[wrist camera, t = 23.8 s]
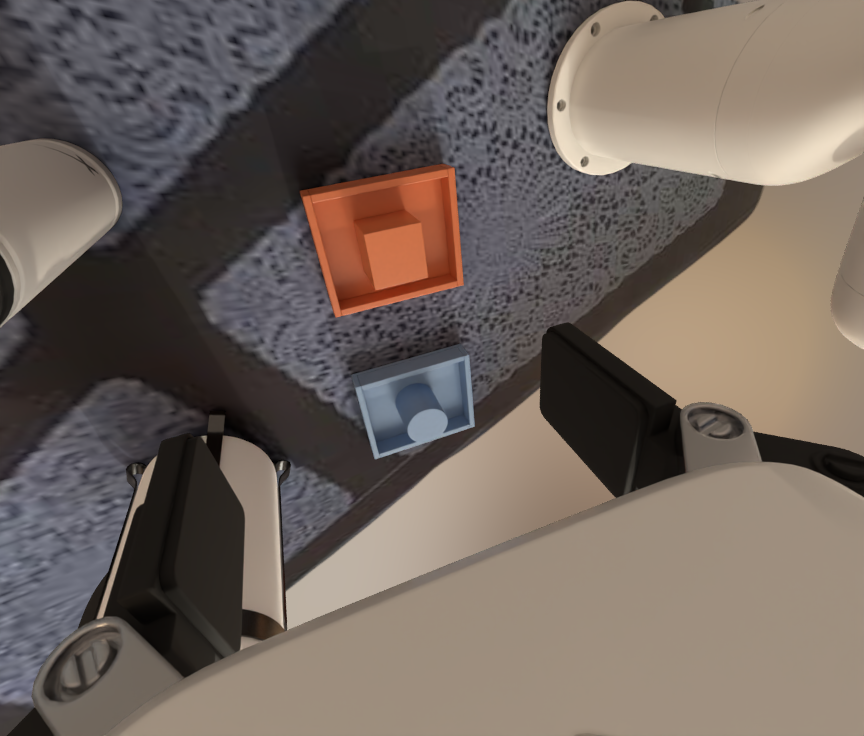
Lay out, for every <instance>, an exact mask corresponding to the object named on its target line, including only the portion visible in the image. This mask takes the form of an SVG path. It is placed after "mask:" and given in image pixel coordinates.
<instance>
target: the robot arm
mask: <svg viewBox="0 0 864 736" xmlns="http://www.w3.org/2000/svg"><path fill="white" fill-rule="evenodd" d="M557 104H558V105H557ZM547 116H548V127H549V131H550V135H551V139H552V142H553V144H554V146H555V148H556V151H557V152H558V154H559V155H560V157H561V158H562V159H563V161H564V162H566V163H567V164H568V165H569V166H570V167H572V168H573V169H575V170H578V171H580V172H582V173H587V174H591V175H605V174H610V173H614V172H616V171H618V170H620V169H623V168H625V167H626V166H628V165H629V164H631V163H638V164H643V165H649V166H655V167H660V168H666V169H672V170H677V171H683V172H689V173H694V174H700V175H706V176H711V177H717V178H723V179H728V180H734V181H739V182H746V183H752V184H758V185H772V186H775V185H787V184H792V183H798V182H801V181H805V180H808V179H810V178H814V177H816V176H819V175H821V174H824V173H826V172H828V171H830V170H832V169H834V168H837V167H839V166H841V165H842V164H844V163H846V162H848V161H850V160H852V159H854V158H855V157H857V156H859V155H861V154H863V153H864V0H756V1H751V2H746V3H741V4H735V5H730V6H725V7H720V8H715V9H710V10H704V11H699V12H694V13H689V14H684V15H679V16H673V17H668V18H664V16H663V15H662V14H661V12H659V11H658V10H657V9H655V8H654V7H653V6H652V5H649V4H646V3H644V2H641V1H624V2H619V3H615V4H612V5H609V6H607V7H604V8H602V9H600V10H599V11H597V12H596V13H594V14H593V15H591V16H590V17H588V18H587V19H586V20H585V21H584V22H583V23H582V24H581V25H580V26H579V27H578V28H577V29H576V31H575V32H574V34H573V35H572V36H571V38H570V39H569V41H568V42H567V43H566V45H565V47H564V49H563V51H562V53H561V55H560V57H559V59H558V61H557V64H556V67H555V69H554V72H553V75H552V79H551V84H550V88H549V93H548V105H547ZM831 313H832V317H833V320H834V323H835V325H836V326H837V328H838V329H839V331H840V332H841V333H842V334H843V335H844V336H845V337H846V338H847V339H848V340H850V341H851V342H852V343H854V344H855V345H857V346H858V347H860V348H862V349H864V198H863V201H862V204H861V207H860V209H859V212H858V215H857V218H856V221H855V224H854V226H853V229H852V232H851V235H850V238H849V241H848V243H847V246H846V249H845V252H844V255H843V258H842V261H841V263H840V268H839V271H838V274H837V276H836V280H835V284H834V288H833V291H832V296H831ZM675 404H676V400H675V399H674V398H672V397H671V396H670V395H668V394H667V393H666V392H664V391H663V390H661V389H660V388H659V387H657V386H656V385H655V384H653V383H652V382H650V381H649V380H648V379H646V378H645V377H644V376H642V375H641V374H639V373H638V372H637V371H635V370H634V369H633V368H631V367H630V366H628V365H627V364H626V363H624V362H623V361H622V360H620V359H619V358H617V357H616V356H615V355H613V354H612V353H611V352H609V351H608V350H606V349H605V348H604V347H602V346H601V345H600V344H598V343H597V342H595V341H594V340H593V339H591V338H590V337H589V336H587V335H586V334H584V333H583V332H582V331H580V330H579V329H578V328H576V327H575V326H573V325H572V324H570V323H563V324H559V325H556V326H553V327H550V328H548V330H547V332H546V334H544V335H543V337H542V356H541V383H540V410H541V413H542V415H543V416H544V418H545V419H546V420H547V421H548V422H549V423H550V425H551V426H552V427H553V428H554V429H555V430H556V431H557V432H558V434H559V435H560V436H561V437H562V438H563V439H564V440H565V441H566V443H567V444H568V445H569V446H570V447H571V448H572V449H573V450H574V452H575V453H576V454H577V455H578V456H579V457H580V458H581V459H582V461H583V462H584V463H585V464H586V465H587V466H588V467H589V468H590V470H592V472H593V473H594V474H595V475H596V476H597V477H598V479H599V480H600V481H601V482H602V483H603V484H604V485H605V486H606V488H607V489H608V490H609V491H610V492H611V493H612V494H613V495H614V496H615V497H616V498H615V499H612V500H610V501H607V502H605V503H602V504H600V505H597V506H595V507H592V508H590V509H587V510H584V511H582V512H579V513H577V514H574V515H572V516H569V517H567V518H564V519H562V520H559V521H556V522H554V523H552V524H549V525H547V526H544V527H541V528H539V529H536V530H534V531H531V532H529V533H526V534H524V535H521V536H519V537H516V538H514V539H512V540H509V541H506V542H504V543H501V544H499V545H496V546H494V547H491V548H489V549H486V550H484V551H481V552H479V553H476V554H474V555H471V556H469V557H466V558H464V559H461V560H459V561H456V562H454V563H451V564H449V565H446V566H444V567H441V568H439V569H436V570H434V571H431V572H429V573H426V574H424V575H421V576H419V577H417V578H414V579H411V580H409V581H407V582H404V583H401V584H399V585H397V586H394V587H392V588H389V589H387V590H384V591H382V592H379V593H377V594H374V595H372V596H369V597H367V598H365V599H362V600H360V601H357V602H355V603H352V604H350V605H347V606H345V607H342V608H340V609H337V610H335V611H333V612H330V613H328V614H325V615H323V616H320V617H318V618H315V619H313V620H311V621H308V622H306V623H304V624H301V625H299V626H297V627H294V628H292V629H289V630H287V631H285V632H282V633H280V634H278V635H275V636H273V637H271V638H268V639H266V640H263V641H261V642H259V643H256V644H254V645H252V646H249V647H247V648H245V649H242V650H240V648H241V629H242V599H243V569H244V539H245V513H244V509H243V507H242V505H241V503H240V501H239V499H238V498H237V496H236V494H235V493H234V491H233V489H232V487H231V486H230V484H229V482H228V481H227V479H226V477H225V476H224V474H223V472H222V471H221V469H220V467H219V465H218V464H217V462H216V460H215V459H214V457H213V455H212V454H211V452H210V450H209V448H208V447H207V445H206V443H205V442H204V440H203V439H202V437H200V436H197V437H193V436H192V435H191V434H190V433H186V434H183V435H179V436H176V437H173V438H169V439H166V440H163V441H162V442H161V444H160V448H159V451H158V455H157V458H156V462H155V465H154V469H153V473H152V476H151V480H150V483H149V487H148V490H147V494H146V497H145V501H144V504H141V505H139V506H138V507H137V508H136V511H135V513H134V515H133V519H132V522H131V525H130V529H129V532H128V535H127V539H126V542H125V545H124V549H123V552H122V555H121V559H120V562H119V565H118V569H117V572H116V575H115V579H114V582H113V585H112V589H111V592H110V595H109V599H108V602H107V605H106V609H105V612H104V615H103V618H99V619H96V620H93V621H91V622H89V623H87V624H85V625H83V626H82V627H80V628H78V629H77V630H76V631H74V632H73V633H72V634H70V635H69V636H68V637H66V638H65V639H64V640H63V641H62V642H61V643H60V644H59V645H58V646H57V647H56V648H55V649H54V650H53V651H52V652H51V654H50V655H49V656H48V658H47V659H46V661H45V662H44V664H43V665H42V666H41V668H40V670H39V672H38V675H37V677H36V679H35V681H34V684H33V691H32V699H33V703H34V706H35V708H34V709H33V710H32V711H31V712H30V713H29V714H28V715H27V716H26V717H25V718H24V719H23V720H22V721H21V722H20V723H19V724H18V725H17V726H16V727H15V728H14V729H13V730H12V731H11V732H10V733H9V734H8V735H7V736H864V457H863V456H861V455H859V454H856V453H853V452H851V451H849V450H845V449H841V448H837V447H833V446H827V445H822V444H817V443H811V442H806V441H801V440H795V439H790V438H785V437H778V436H774V435H768V434H763V433H758V432H753V430H752V427H751V425H750V423H749V422H748V420H747V419H746V418H745V417H744V416H742V414H740V413H738V412H737V411H735V410H733V409H731V408H728V407H726V406H723V405H720V404H715V403H709V402H698V403H692V404H690V405H687V406H685V407H684V408H683V409H680V408H679V407H678V406H676V405H675Z"/></svg>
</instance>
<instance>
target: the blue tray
mask: <svg viewBox="0 0 864 736" xmlns="http://www.w3.org/2000/svg"><path fill="white" fill-rule="evenodd" d="M351 377H352V381H353V385H354V388H355V392H356V395H357V399H358V403H359V406H360V410H361V413H362V417H363V421H364V424H365V428H366V431H367V435H368V439H369V442H370V446H371V449H372V452H373V455H374V458H375V459H377V458H381V457H384V456H387V455H390V454H393V453H396V452H399V451H402V450H405V449H408V448H411V447H414V446H417V445H420V444H423V443H426V442H423V443H422V442H416V441H414V440H412V439H411V438H410V437H409V435H408V433H407V431H406V428H405V426H404V424H403V422H402V419H401V417H400V415H399V412H398V410H397V408H396V398H397V396H398V394H399V392H400V391H401V390H402V389H404V388H405V387H406V386H408V385H411V384H415V383H421V384H425V385H427V386H428V387H430V388H431V390H432V392H433V393H434V395H435V397H436V398H437V400H438V402H439V404H440V405H441V407H442V409H443V410H444V412H445V414H446V416H447V419H448V424H447V427H446V429H445V431H444V432H443V433H442V434H441V435H440V436H439V437H438V438H441V437H444V436H447V435H450V434H453V433H456V432H459V431H462V430H465V429H468V428H471V427H474V426H475V424H474V411H473V398H472V386H471V373H470V360H469V354H468V353H467V351H466V350H465V349H464V348H463V347H462V345H461V344H457V345H454V346H450V347H447V348H443V349H440V350H436V351H433V352H429V353H425V354H422V355H418V356H415V357H411V358H408V359H404V360H401V361H397V362H394V363H390V364H387V365H383V366H380V367H376V368H373V369H369V370H366V371H362V372H359V373H355V374H352V375H351ZM438 438H436V439H438ZM434 440H435V439H434Z"/></svg>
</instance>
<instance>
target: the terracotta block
mask: <svg viewBox="0 0 864 736" xmlns="http://www.w3.org/2000/svg"><path fill="white" fill-rule="evenodd" d="M353 223H354V227H355V232H356V237H357V241H358V246H359V250H360V255H361V259H362V264H363V269H364V272H365V274H366V276H367V277H368V279H369V281H370V282H371V284H372V286H373V287H374V289H375V290H379V289H383V288H387V287H391V286H396V285H400V284H404V283H408V282H412V281H416V280H420V279H424V278H428V270H427V263H426V255H425V247H424V239H423V231H422V224H421V222H420V221H419V220H418V219H417V218H415V217H414V216H413V215H411V214H410V213H409V212H408V211H406V210H400V211H396V212H391V213H386V214H381V215H376V216H372V217H367V218H362V219H357V220H353Z"/></svg>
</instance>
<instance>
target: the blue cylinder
mask: <svg viewBox="0 0 864 736" xmlns="http://www.w3.org/2000/svg"><path fill="white" fill-rule="evenodd" d="M396 408H397V410H398V412H399V415H400V417H401V419H402V422H403V424H404V426H405V428H406V431H407V433H408V435H409V437H410V438H411V439H412V440H414V441H416V442H422V443H423V442H429V441H432V440H434V439H436V438H438V437H439V436H440V435H441V434H442V433H443V432H444V431H445V429H446V427H447V424H448V419H447V416H446V414H445V412H444V410H443V409H442V407H441V405H440V404H439V402H438V400H437V398H436V397H435V395H434V393H433V392H432V390H431V388H430V387H428V386H427V385H425V384H421V383H415V384H411V385H408V386H406V387H405V388H404V389H402V390H401V391H400V392H399V394H398V396H397V398H396Z"/></svg>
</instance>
